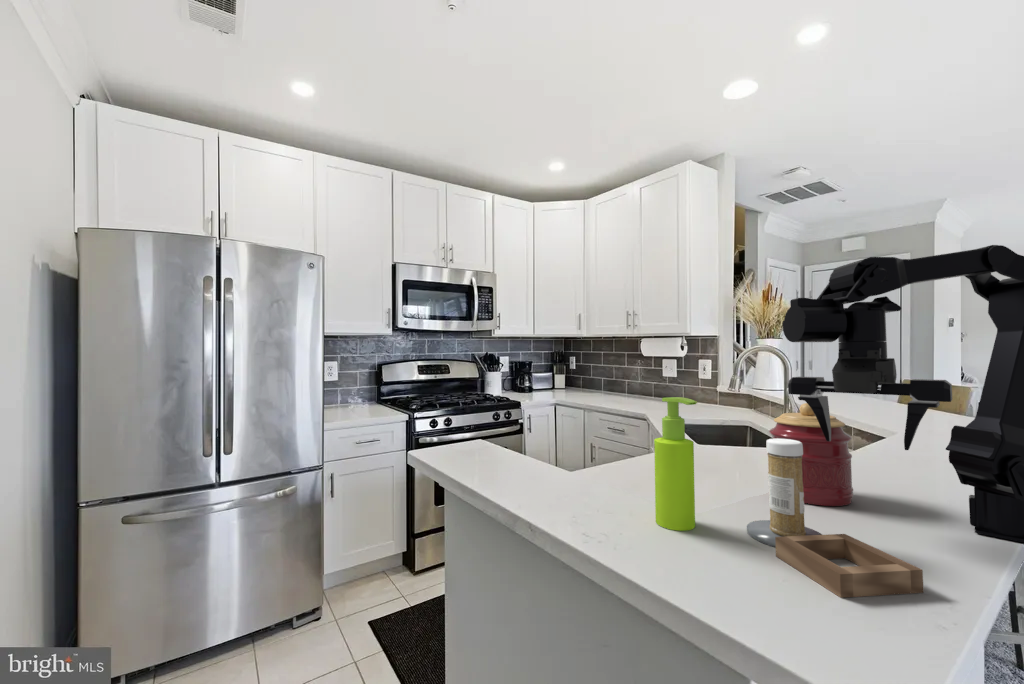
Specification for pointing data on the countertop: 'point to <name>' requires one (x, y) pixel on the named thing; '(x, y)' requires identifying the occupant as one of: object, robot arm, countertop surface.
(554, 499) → the countertop surface
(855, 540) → the walnut pocket block
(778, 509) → the sprinkles bottle
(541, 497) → the countertop surface
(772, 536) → the slate coaster
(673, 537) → the countertop surface
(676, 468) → the soap dispenser
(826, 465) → the canister
